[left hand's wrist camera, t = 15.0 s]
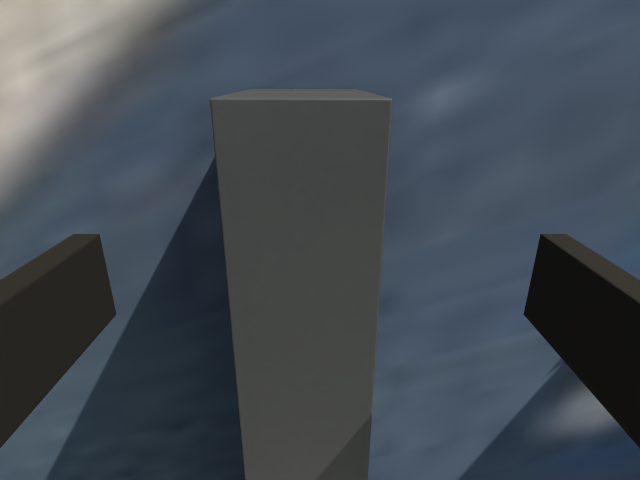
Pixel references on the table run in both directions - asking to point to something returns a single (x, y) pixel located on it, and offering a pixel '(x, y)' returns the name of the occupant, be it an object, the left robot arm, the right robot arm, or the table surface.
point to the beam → (303, 272)
